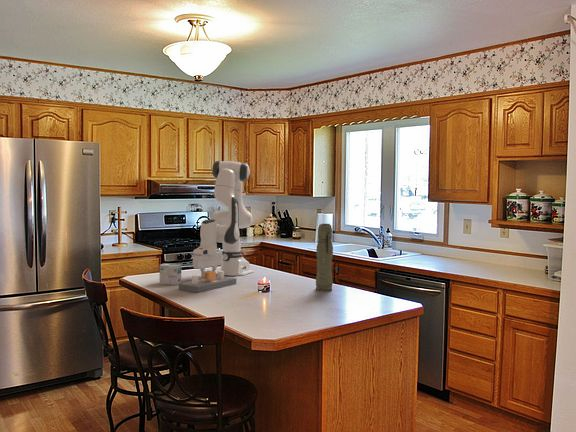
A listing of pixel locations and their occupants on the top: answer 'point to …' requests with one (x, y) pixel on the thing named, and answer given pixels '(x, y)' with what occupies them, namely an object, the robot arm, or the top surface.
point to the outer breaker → (194, 279)
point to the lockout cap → (209, 275)
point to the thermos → (324, 258)
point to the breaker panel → (207, 284)
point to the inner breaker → (220, 274)
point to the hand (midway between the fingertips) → (208, 275)
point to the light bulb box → (170, 274)
